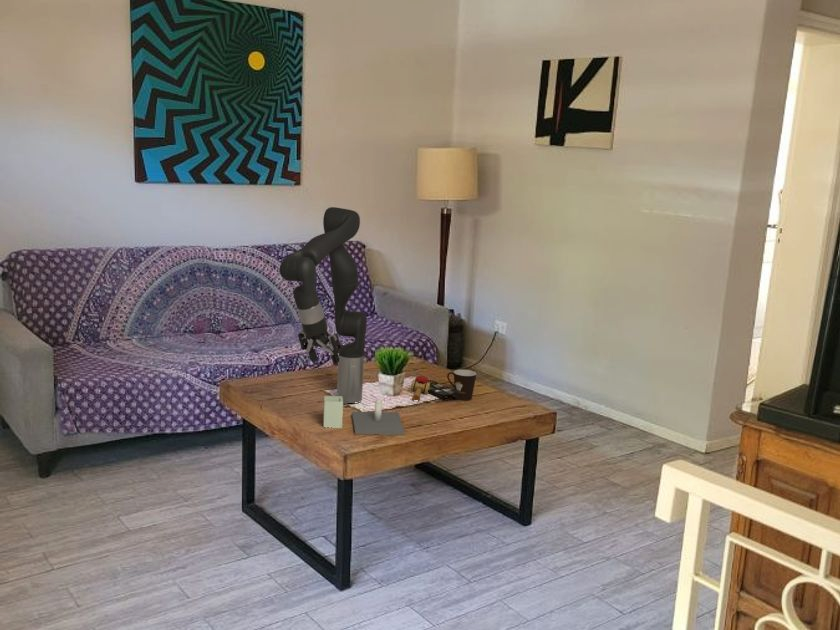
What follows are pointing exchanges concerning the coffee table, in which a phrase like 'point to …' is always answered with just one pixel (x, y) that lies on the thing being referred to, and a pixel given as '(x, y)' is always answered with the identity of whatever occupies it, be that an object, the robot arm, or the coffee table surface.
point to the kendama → (420, 387)
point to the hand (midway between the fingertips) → (325, 362)
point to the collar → (333, 411)
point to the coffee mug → (463, 384)
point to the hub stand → (377, 422)
